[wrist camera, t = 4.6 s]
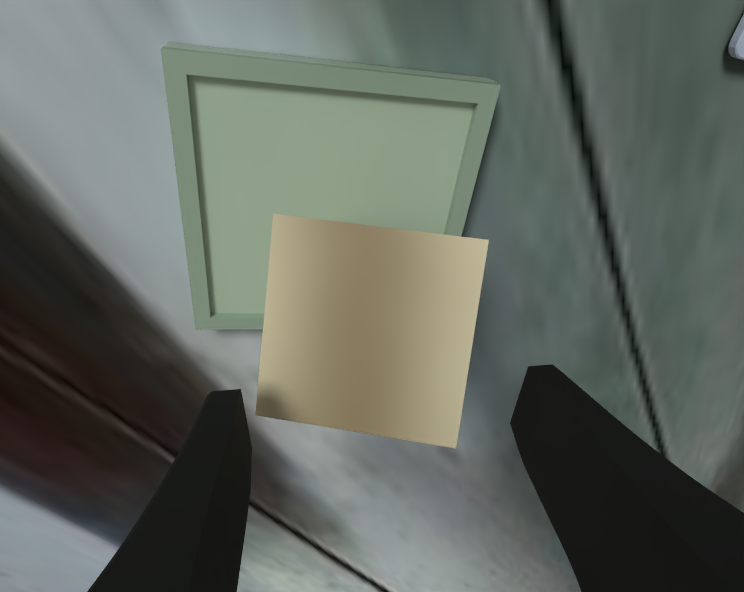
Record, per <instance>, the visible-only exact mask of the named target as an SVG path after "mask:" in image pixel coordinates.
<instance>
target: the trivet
mask: <svg viewBox="0 0 744 592" xmlns="http://www.w3.org/2000/svg"><path fill="white" fill-rule="evenodd" d="M161 54H162V62H163V70H164V78H165V86H166V94H167V102H168V110H169V118H170V126H171V134H172V142H173V150H174V158H175V166H176V174H177V182H178V190H179V199H180V207H181V215H182V223H183V231H184V239H185V247H186V255H187V263H188V271H189V279H190V287H191V295H192V303H193V311H194V319H195V327H196V329H219V330H263V324H264V313H265V301H266V290H267V279H268V267H269V256H270V245H271V233H272V222H273V214H280V215H288V216H296V217H304V218H313V219H321V220H329V221H337V222H345V223H354V224H362V225H370V226H378V227H386V228H395V229H403V230H411V231H419V232H427V233H436V234H444V235H452V236H460V237H461V236H462V232H463V228H464V224H465V220H466V217H467V213H468V209H469V205H470V201H471V198H472V194H473V190H474V186H475V182H476V178H477V175H478V171H479V167H480V163H481V159H482V155H483V152H484V148H485V144H486V140H487V136H488V133H489V129H490V125H491V121H492V117H493V113H494V110H495V106H496V102H497V98H498V94H499V91H500V87H501V85H500V84H498V83H496V82H495V81H493V80H492V79H490V78H485V77H476V76H467V75H458V74H449V73H440V72H431V71H422V70H413V69H404V68H395V67H386V66H377V65H368V64H359V63H350V62H341V61H332V60H323V59H314V58H305V57H296V56H287V55H278V54H269V53H260V52H251V51H242V50H233V49H224V48H215V47H206V46H197V45H188V44H179V43H170V42H169V43H168V44H166V45H165V46H164V47H162V48H161Z"/></svg>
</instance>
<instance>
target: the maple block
mask: <svg viewBox="0 0 744 592" xmlns="http://www.w3.org/2000/svg"><path fill="white" fill-rule="evenodd" d="M488 242H489V240H485V239H477V238H468V237H460V236H452V235H444V234H436V233H427V232H419V231H411V230H403V229H395V228H386V227H378V226H370V225H362V224H354V223H345V222H337V221H329V220H321V219H313V218H304V217H296V216H288V215H280V214H273V222H272V233H271V245H270V256H269V267H268V279H267V290H266V301H265V313H264V324H263V335H262V347H261V358H260V369H259V381H258V392H257V404H256V415H258V416H264V417H270V418H276V419H282V420H288V421H294V422H300V423H306V424H312V425H318V426H324V427H330V428H336V429H342V430H348V431H354V432H360V433H366V434H372V435H378V436H384V437H390V438H396V439H402V440H408V441H414V442H420V443H426V444H432V445H439V446H445V447H451V448H456V446H457V439H458V433H459V427H460V420H461V414H462V407H463V401H464V395H465V388H466V382H467V376H468V369H469V363H470V356H471V350H472V344H473V337H474V331H475V325H476V318H477V312H478V305H479V299H480V293H481V286H482V280H483V274H484V267H485V261H486V254H487V248H488Z"/></svg>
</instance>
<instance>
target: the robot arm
mask: <svg viewBox="0 0 744 592" xmlns="http://www.w3.org/2000/svg"><path fill="white" fill-rule="evenodd" d="M729 54H730V56H732V57H734V58H737V59H742V60H744V14H743V16H742V18H741V20H740V22H739V24H738V26H737V28H736V30H735V32H734V34H733V36H732V38H731V41H730V44H729ZM510 424H511V427H512V430H513V433H514V437H515V440H516V443H517V446H518V449H519V452H520V455H521V458H522V461H523V463H524V466H525V468H526V470H527V472H528V474H529V477H530V479H531V481H532V483H533V485H534V487H535V489H536V492H537V494H538V496H539V498H540V500H541V502H542V504H543V506H544V508H545V510H546V513H547V515H548V517H549V519H550V521H551V523H552V525H553V527H554V529H555V531H556V534H557V536H558V538H559V540H560V542H561V544H562V546H563V548H564V550H565V552H566V554H567V557H568V559H569V561H570V564H571V566H572V568H573V571H574V573H575V575H576V578H577V580H578V583H579V586H580V588H581V591H582V592H744V513H743V512H741V511H740V510H738V509H737V508H735V507H734V506H732V505H731V504H729V503H728V502H726V501H725V500H723V499H722V498H720V497H719V496H717V495H716V494H715V493H713V492H712V491H710V490H709V489H707V488H706V487H704V486H703V485H701V484H700V483H699V482H697V481H696V480H694V479H693V478H692V477H690V476H689V475H687V474H686V473H685V472H683V471H682V470H681V469H679V468H678V467H677V466H675V465H674V464H673V463H671V462H670V461H669V460H667V459H666V458H665V457H663V456H662V455H661V454H660V453H658V452H657V451H656V450H654V449H653V448H652V447H651V446H649V445H648V444H647V443H645V442H644V441H643V440H642V439H640V438H639V437H638V436H637V435H636V434H634V433H633V432H632V431H631V430H629V429H628V428H627V427H626V426H625V425H623V424H622V423H621V422H620V421H619V420H617V419H616V418H615V417H614V416H613V415H611V414H610V413H609V412H608V411H607V410H605V409H604V408H603V407H602V406H601V405H600V404H598V403H597V402H596V401H595V400H594V399H593V398H591V397H590V396H589V395H588V394H587V393H586V392H584V391H583V390H582V389H581V388H580V387H579V386H578V385H576V384H575V383H574V382H573V381H572V380H571V379H569V378H568V377H567V376H566V375H565V374H563V373H562V372H561V371H560V370H559V369H557V368H556V367H555V366H554V365H540V366H528V369H527V372H526V375H525V378H524V382H523V385H522V388H521V391H520V394H519V397H518V400H517V403H516V406H515V410H514V413H513V416H512V419H511V422H510ZM251 459H252V446H251V441H250V435H249V430H248V425H247V419H246V414H245V409H244V403H243V398H242V393H241V389H237V390H225V391H212V392H211V393H210V394H209V395H208V396H207V398H206V400H205V402H204V405H203V407H202V409H201V411H200V413H199V415H198V417H197V419H196V421H195V423H194V425H193V427H192V429H191V431H190V433H189V435H188V437H187V439H186V441H185V443H184V444H183V446H182V448H181V450H180V452H179V454H178V455H177V457H176V459H175V461H174V462H173V464H172V466H171V467H170V469H169V471H168V473H167V474H166V476H165V478H164V480H163V481H162V483H161V485H160V486H159V488H158V490H157V491H156V493H155V494H154V496H153V498H152V499H151V501H150V502H149V504H148V505H147V507H146V508H145V510H144V512H143V513H142V515H141V516H140V518H139V519H138V521H137V522H136V524H135V526H134V527H133V529H132V530H131V532H130V533H129V535H128V536H127V538H126V539H125V540H124V542H123V543H122V545H121V546H120V548H119V549H118V551H117V552H116V553H115V555H114V556H113V558H112V559H111V560H110V562H109V563H108V565H107V566H106V567H105V569H104V570H103V571H102V573H101V574H100V575H99V577H98V578H97V579H96V581H95V582H94V584H93V585H92V586H91V588H90V589H89V590H88V591H87V592H237V585H238V578H239V571H240V564H241V557H242V550H243V543H244V536H245V529H246V521H247V514H248V507H249V499H250V488H251Z"/></svg>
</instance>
